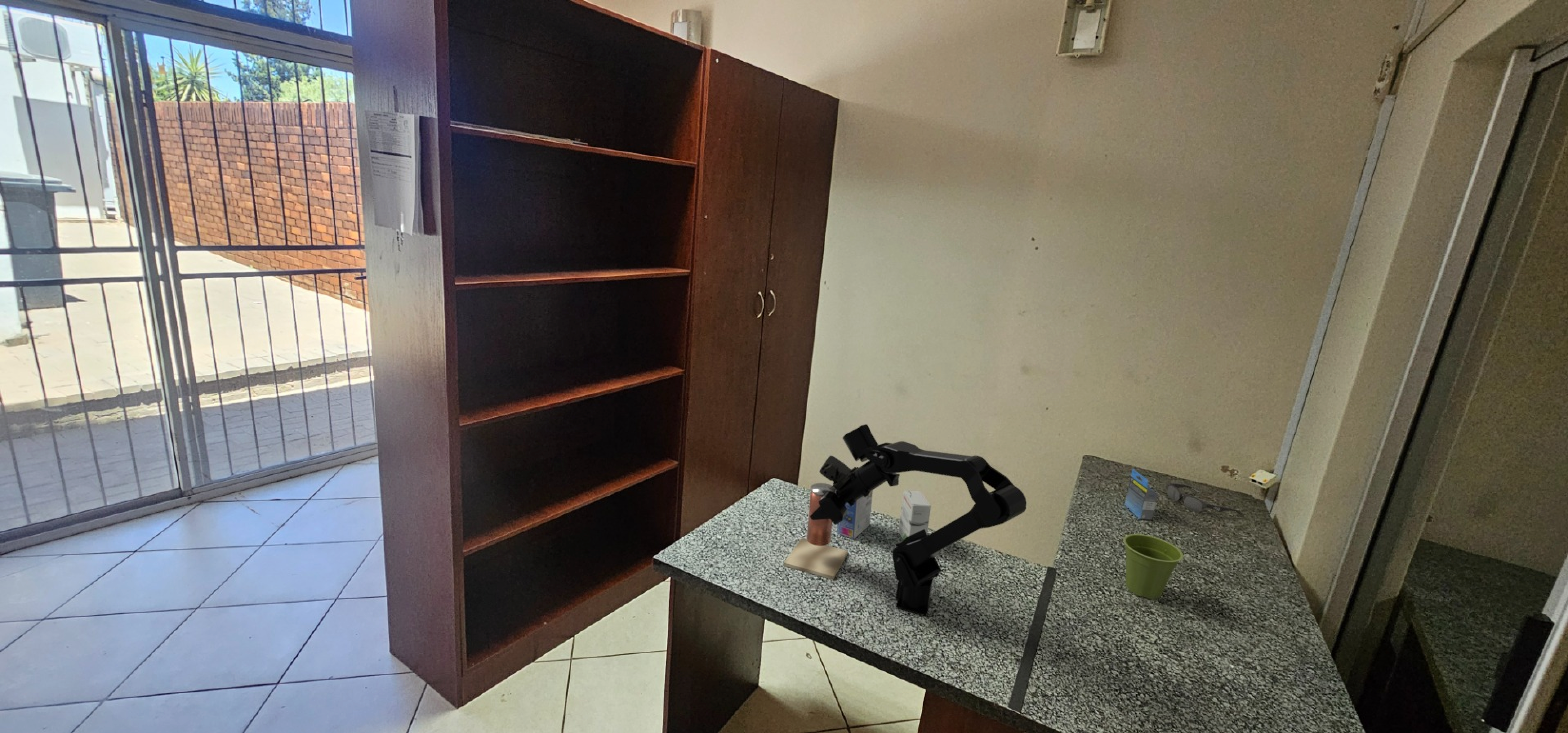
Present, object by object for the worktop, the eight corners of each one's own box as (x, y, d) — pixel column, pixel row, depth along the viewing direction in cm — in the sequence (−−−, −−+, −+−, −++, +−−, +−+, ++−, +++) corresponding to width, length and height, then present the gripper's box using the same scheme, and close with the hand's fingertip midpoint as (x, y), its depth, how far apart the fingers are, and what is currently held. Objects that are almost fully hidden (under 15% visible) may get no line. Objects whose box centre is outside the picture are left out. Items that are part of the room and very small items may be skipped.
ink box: (926, 548, 152) (932, 505, 149) (906, 548, 152) (912, 505, 149) (915, 531, 160) (921, 490, 158) (897, 530, 160) (902, 489, 157)
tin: (833, 537, 144) (838, 486, 141) (826, 548, 139) (831, 496, 136) (811, 531, 146) (815, 481, 143) (803, 542, 141) (807, 490, 137)
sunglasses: (1156, 494, 196) (1161, 479, 195) (1196, 497, 200) (1201, 483, 199) (1201, 519, 180) (1207, 503, 179) (1243, 522, 185) (1249, 507, 184)
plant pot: (1122, 569, 149) (1132, 528, 146) (1178, 593, 141) (1189, 549, 138) (1106, 587, 141) (1116, 544, 138) (1163, 613, 133) (1175, 567, 130)
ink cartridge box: (851, 518, 165) (857, 468, 161) (870, 525, 162) (876, 474, 158) (834, 532, 156) (839, 481, 153) (853, 540, 154) (859, 487, 150)
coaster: (847, 553, 147) (847, 550, 147) (833, 579, 136) (833, 576, 136) (800, 541, 151) (801, 538, 151) (783, 565, 140) (783, 562, 140)
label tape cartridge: (1152, 520, 177) (1162, 481, 174) (1139, 519, 177) (1148, 480, 174) (1136, 506, 185) (1144, 468, 182) (1123, 505, 185) (1131, 467, 182)
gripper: (854, 436, 144) (807, 470, 150) (831, 463, 127) (779, 500, 133) (883, 474, 143) (834, 506, 149) (864, 507, 126) (810, 541, 132)
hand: (815, 512), depth 141 cm, fingers closed on tin, 6 cm apart
